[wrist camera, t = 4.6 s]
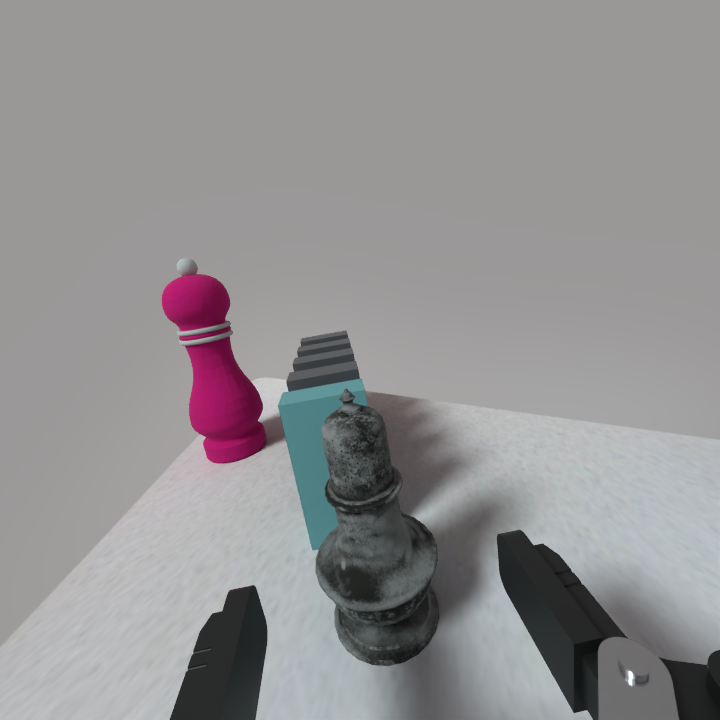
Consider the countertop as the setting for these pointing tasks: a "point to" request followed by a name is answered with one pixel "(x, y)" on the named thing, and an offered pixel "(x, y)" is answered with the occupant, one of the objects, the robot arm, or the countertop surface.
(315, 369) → the domino
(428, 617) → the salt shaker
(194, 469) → the countertop surface
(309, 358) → the domino
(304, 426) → the domino
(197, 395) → the pepper mill
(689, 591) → the countertop surface
